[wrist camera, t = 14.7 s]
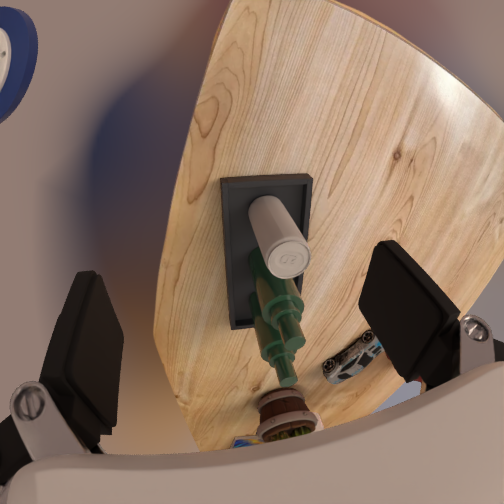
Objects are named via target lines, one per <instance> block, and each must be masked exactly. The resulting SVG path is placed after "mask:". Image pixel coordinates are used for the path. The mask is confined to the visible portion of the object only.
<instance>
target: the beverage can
mask: <svg viewBox="0 0 504 504" xmlns="http://www.w3.org/2000/svg"><path fill="white" fill-rule="evenodd" d="M248 215H249V219H250V222H251V225H252V228H253V230H254V233H255V236H256V239H257V242H258V244H259V247H260V250H261V253H262V256H263V258H264V261H265V264H266V266H267V268H268V269H269V270H270V272H271V273H272V274H273V275H274V276H276V277H278V278H282V279H289V278H293V277H296V276H298V275H300V274H301V273H303V272H304V271H305V270H306V269H307V267H308V266H309V264H310V261H311V252H310V248H309V245H308V244H307V242H306V240H305V239H304V237H303V235H302V234H301V232H300V231H299V229H298V227H297V226H296V224H295V223H294V221H293V219H292V218H291V216H290V215H289V213H288V212H287V210H286V208H285V207H284V205H283V204H282V202H281V201H280V200H279V199H278V198H277V197H274V196H262V197H259V198H257V199H256V200H254V201H253V202H252V203H251V205H250V207H249V211H248Z"/></svg>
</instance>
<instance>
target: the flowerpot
mask: <svg viewBox="0 0 504 504" xmlns="http://www.w3.org/2000/svg"><path fill="white" fill-rule="evenodd" d="M257 409H258V412H259V413H260V425H259V426H258V428H257V432H256V434H257V435H258V437H259V438H260V439H261V440H263V441H264V442H265V443H269V442H274V441H279V440H284V439H288V438H293V437H297V436H301V435H305V434H309V433H311V432H313V431H315V429H316V428H315V427H316V426H317V421H318V419H317V418H316V416H315V414H314V413H312V412H310V411H309V409H308V407H307V406H306V404H305V399H304V397H303V395H302V394H301V393H300V392H298V391H296V390H295V389H293V388H282V389H277V390H274V391H271V392H269V393H267V394H266V395H265V396H264V397H262V398H261V400H260V402H259V404H258V407H257Z"/></svg>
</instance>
